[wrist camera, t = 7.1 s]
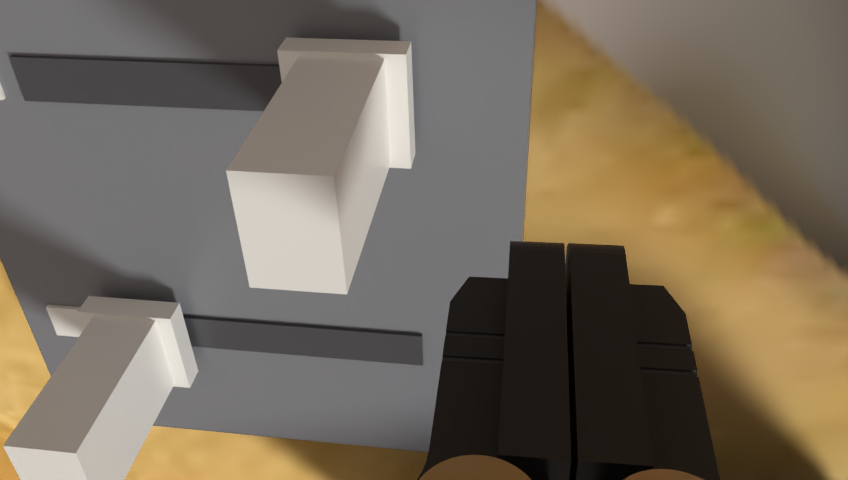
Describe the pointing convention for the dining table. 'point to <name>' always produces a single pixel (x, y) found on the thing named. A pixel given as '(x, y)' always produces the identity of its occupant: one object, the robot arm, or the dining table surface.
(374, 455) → the dining table surface
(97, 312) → the lever
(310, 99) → the lever middle
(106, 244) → the switch console
